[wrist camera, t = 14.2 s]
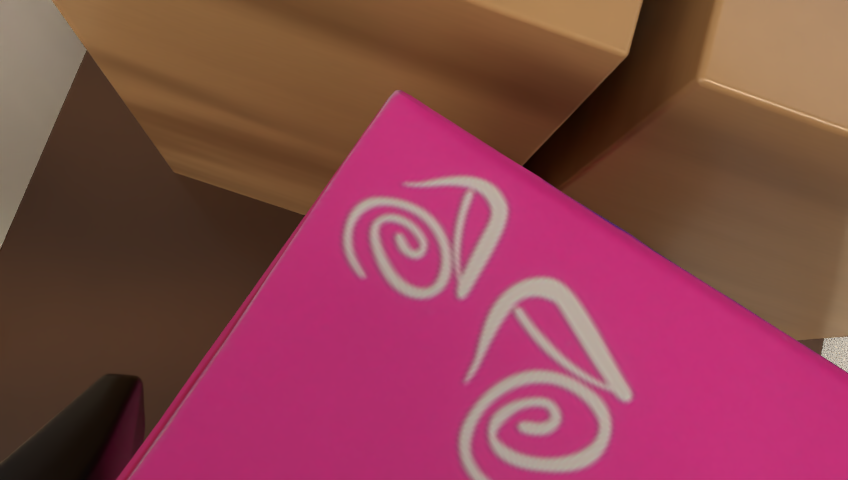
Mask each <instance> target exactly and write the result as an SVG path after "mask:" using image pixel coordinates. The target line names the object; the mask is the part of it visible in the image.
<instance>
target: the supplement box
mask: <svg viewBox="0 0 848 480" xmlns="http://www.w3.org/2000/svg"><path fill="white" fill-rule="evenodd" d="M116 480H848V373H847V372H846V371H844V370H842V369H841V368H839V367H838V366H836V365H835V364H833V363H832V362H830V361H828V360H827V359H825V358H824V357H822V356H821V355H819V354H817V353H816V352H814V351H813V350H811V349H809V348H808V347H806V346H805V345H803V344H802V343H800V342H798V341H797V340H795V339H794V338H792V337H790V336H789V335H787V334H786V333H784V332H783V331H781V330H779V329H778V328H776V327H775V326H773V325H772V324H770V323H768V322H767V321H765V320H764V319H762V318H761V317H759V316H757V315H756V314H754V313H753V312H751V311H750V310H748V309H747V308H745V307H743V306H742V305H740V304H739V303H737V302H736V301H734V300H732V299H731V298H729V297H728V296H726V295H724V294H723V293H721V292H719V291H718V290H716V289H715V288H713V287H711V286H710V285H708V284H707V283H705V282H703V281H702V280H700V279H699V278H697V277H695V276H694V275H692V274H691V273H689V272H688V271H686V270H684V269H683V268H681V267H680V266H678V265H676V264H675V263H673V262H672V261H670V260H668V259H667V258H665V257H664V256H662V255H661V254H659V253H657V252H656V251H654V250H653V249H651V248H650V247H648V246H647V245H645V244H644V243H642V242H641V241H640V240H638V239H637V238H635V237H634V236H633V235H631V234H629V233H628V232H626V231H625V230H623V229H621V228H620V227H618V226H617V225H615V224H613V223H612V222H610V221H608V220H607V219H605V218H603V217H602V216H600V215H598V214H597V213H595V212H594V211H592V210H590V209H589V208H587V207H585V206H584V205H582V204H580V203H579V202H577V201H575V200H574V199H572V198H571V197H569V196H567V195H566V194H564V193H563V192H561V191H560V190H558V189H557V188H555V187H554V186H552V185H551V184H549V183H548V182H546V181H545V180H543V179H542V178H540V177H539V176H537V175H536V174H534V173H532V172H531V171H529V170H527V169H526V168H524V167H522V166H521V165H519V164H517V163H516V162H514V161H513V160H511V159H509V158H508V157H506V156H505V155H503V154H501V153H500V152H498V151H497V150H495V149H494V148H492V147H490V146H489V145H487V144H486V143H484V142H483V141H481V140H480V139H478V138H476V137H475V136H473V135H472V134H470V133H469V132H467V131H465V130H464V129H462V128H461V127H459V126H458V125H456V124H454V123H453V122H451V121H450V120H448V119H446V118H445V117H443V116H442V115H440V114H439V113H437V112H435V111H434V110H432V109H431V108H429V107H428V106H426V105H425V104H423V103H422V102H420V101H419V100H417V99H416V98H414V97H412V96H411V95H409V94H407V93H405V92H404V91H402V90H396V91H395V92H394V93H393V94H392V95H391V96H390V97H389V98H388V99H387V100H386V102H385V103H384V105H383V106H382V107H381V109H380V110H379V112H378V113H377V114H376V116H375V117H374V119H373V120H372V121H371V123H370V124H369V126H368V127H367V129H366V130H365V131H364V133H363V134H362V136H361V137H360V139H359V140H358V141H357V143H356V144H355V146H354V147H353V149H352V150H351V151H350V153H349V154H348V156H347V157H346V158H345V160H344V161H343V163H342V164H341V166H340V167H339V168H338V170H337V171H336V173H335V174H334V175H333V177H332V178H331V180H330V181H329V183H328V184H327V185H326V187H325V188H324V190H323V191H322V192H321V194H320V195H319V197H318V198H317V199H316V201H315V202H314V204H313V205H312V207H311V208H310V209H309V211H308V212H307V214H306V215H305V216H304V218H303V219H302V221H301V222H300V223H299V225H298V226H297V228H296V229H295V231H294V232H293V233H292V235H291V236H290V238H289V239H288V240H287V242H286V243H285V245H284V246H283V247H282V249H281V250H280V252H279V253H278V254H277V256H276V257H275V259H274V260H273V262H272V263H271V264H270V266H269V267H268V269H267V270H266V271H265V273H264V274H263V276H262V277H261V278H260V280H259V281H258V283H257V284H256V285H255V287H254V288H253V290H252V291H251V292H250V294H249V295H248V297H247V298H246V299H245V301H244V302H243V304H242V305H241V307H240V308H239V309H238V311H237V312H236V313H235V315H234V316H233V318H232V319H231V320H230V322H229V323H228V325H227V326H226V327H225V329H224V330H223V331H222V333H221V334H220V336H219V337H218V338H217V340H216V341H215V343H214V344H213V345H212V347H211V348H210V349H209V351H208V352H207V354H206V355H205V356H204V358H203V359H202V361H201V362H200V363H199V365H198V366H197V368H196V369H195V370H194V372H193V373H192V375H191V376H190V378H189V379H188V380H187V382H186V383H185V385H184V386H183V388H182V389H181V390H180V392H179V393H178V395H177V396H176V398H175V399H174V400H173V402H172V403H171V405H170V406H169V408H168V409H167V410H166V412H165V413H164V415H163V416H162V418H161V419H160V421H159V422H158V423H157V425H156V426H155V427H154V429H153V430H152V431H151V433H150V434H149V436H148V437H147V438H146V440H145V441H144V442H143V444H142V445H141V446H140V448H139V449H138V450H137V452H136V453H135V455H134V456H133V457H132V459H131V460H130V461H129V463H128V464H127V465H126V467H125V468H124V470H123V471H122V472H121V474H120V475H119V476H118V478H117V479H116Z"/></svg>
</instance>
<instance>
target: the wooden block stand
mask: <svg viewBox="0 0 848 480" xmlns="http://www.w3.org/2000/svg"><path fill="white" fill-rule="evenodd" d="M52 1H53V3H54V4H55V6H56V7H57V8H58V10H59V11H60V13H61V14H62V16H63V17H64V18H65V20H66V21H67V23H68V24H69V25H70V27H71V28H72V30H73V31H74V32H75V34H76V35H77V37H78V38H79V39H80V41H81V42H82V44H83V45H84V47H85V48H86V49H87V51H86V53H85V55H84V58H83V60H82V62H81V64H80V67H79V69H78V71H77V74H76V76H75V78H74V81H73V83H72V85H71V88H70V90H69V92H68V94H67V97H66V99H65V101H64V104H63V106H62V108H61V111H60V113H59V115H58V117H57V120H56V122H55V124H54V127H53V129H52V131H51V134H50V136H49V138H48V141H47V143H46V145H45V147H44V150H43V152H42V154H41V157H40V159H39V161H38V164H37V166H36V168H35V170H34V173H33V175H32V177H31V180H30V182H29V184H28V187H27V189H26V191H25V194H24V196H23V198H22V200H21V203H20V205H19V207H18V210H17V212H16V214H15V217H14V219H13V221H12V224H11V226H10V228H9V230H8V233H7V235H6V237H5V240H4V242H3V244H2V247H1V249H0V463H1V462H2V461H3V460H4V459H5V458H7V457H8V456H9V455H10V454H11V453H12V452H14V451H15V450H16V449H17V448H18V447H19V446H21V445H22V444H23V443H24V442H25V441H26V440H28V439H29V438H30V437H31V436H32V435H33V434H35V433H36V432H37V431H38V430H39V429H40V428H42V427H43V426H44V425H45V424H46V423H48V422H49V421H50V420H51V419H52V418H53V417H55V416H56V415H57V414H58V413H59V412H60V411H62V410H63V409H64V408H65V407H66V406H67V405H69V404H70V403H71V402H72V401H73V400H74V399H76V398H77V397H78V396H79V395H80V394H81V393H83V392H84V391H85V390H86V389H87V388H88V387H90V386H91V385H92V384H93V383H94V382H95V381H97V380H98V379H99V378H100V377H102V376H103V375H105V374H108V373H114V374H125V375H136V376H138V377H140V378H141V380H142V382H143V391H144V408H145V434H144V440H143V442H144V441H145V440H146V438H147V437H148V436H149V434H150V433H151V431H152V430H153V429H154V427H155V426H156V425H157V423H158V422H159V421H160V419H161V418H162V416H163V415H164V413H165V412H166V410H167V409H168V408H169V406H170V405H171V403H172V402H173V400H174V399H175V398H176V396H177V395H178V393H179V392H180V390H181V389H182V388H183V386H184V385H185V383H186V382H187V380H188V379H189V378H190V376H191V375H192V373H193V372H194V370H195V369H196V368H197V366H198V365H199V363H200V362H201V361H202V359H203V358H204V356H205V355H206V354H207V352H208V351H209V349H210V348H211V347H212V345H213V344H214V343H215V341H216V340H217V338H218V337H219V336H220V334H221V333H222V331H223V330H224V329H225V327H226V326H227V325H228V323H229V322H230V320H231V319H232V318H233V316H234V315H235V313H236V312H237V311H238V309H239V308H240V307H241V305H242V304H243V302H244V301H245V299H246V298H247V297H248V295H249V294H250V292H251V291H252V290H253V288H254V287H255V285H256V284H257V283H258V281H259V280H260V278H261V277H262V276H263V274H264V273H265V271H266V270H267V269H268V267H269V266H270V264H271V263H272V262H273V260H274V259H275V257H276V256H277V254H278V253H279V252H280V250H281V249H282V247H283V246H284V245H285V243H286V242H287V240H288V239H289V238H290V236H291V235H292V233H293V232H294V231H295V229H296V228H297V226H298V225H299V223H300V222H301V221H302V219H303V218H304V216H305V215H306V214H307V212H308V211H309V209H310V208H311V207H312V205H313V204H314V202H315V201H316V199H317V198H318V197H319V195H320V194H321V192H322V191H323V190H324V188H325V187H326V185H327V184H328V183H329V181H330V180H331V178H332V177H333V175H334V174H335V173H336V171H337V170H338V168H339V167H340V166H341V164H342V163H343V161H344V160H345V158H346V157H347V156H348V154H349V153H350V151H351V150H352V149H353V147H354V146H355V144H356V143H357V141H358V140H359V139H360V137H361V136H362V134H363V133H364V131H365V130H366V129H367V127H368V126H369V124H370V123H371V121H372V120H373V119H374V117H375V116H376V114H377V113H378V112H379V110H380V109H381V107H382V106H383V105H384V103H385V102H386V100H387V99H388V98H389V97H390V96H391V95H392V94H393V93H394V92H395V91H396V90H402V91H404V92H405V93H407V94H409V95H411V96H412V97H414V98H416V99H417V100H419V101H420V102H422V103H423V104H425V105H426V106H428V107H429V108H431V109H432V110H434V111H435V112H437V113H439V114H440V115H442V116H443V117H445V118H446V119H448V120H450V121H451V122H453V123H454V124H456V125H458V126H459V127H461V128H462V129H464V130H465V131H467V132H469V133H470V134H472V135H473V136H475V137H476V138H478V139H480V140H481V141H483V142H484V143H486V144H487V145H489V146H490V147H492V148H494V149H495V150H497V151H498V152H500V153H501V154H503V155H505V156H506V157H508V158H509V159H511V160H513V161H514V162H516V163H517V164H519V165H521V166H522V167H524V168H526V169H527V170H529V171H531V172H532V173H534V174H536V175H537V176H539V177H540V178H542V179H543V180H545V181H546V182H548V183H549V184H551V185H552V186H554V187H555V188H557V189H558V190H560V191H561V192H563V193H564V194H566V195H567V196H569V197H571V198H572V199H574V200H575V201H577V202H579V203H580V204H582V205H584V206H585V207H587V208H589V209H590V210H592V211H594V212H595V213H597V214H598V215H600V216H602V217H603V218H605V219H607V220H608V221H610V222H612V223H613V224H615V225H617V226H618V227H620V228H621V229H623V230H625V231H626V232H628V233H629V234H631V235H633V236H634V237H635V238H637V239H638V240H640V241H641V242H642V243H644V244H645V245H647V246H648V247H650V248H651V249H653V250H654V251H656V252H657V253H659V254H661V255H662V256H664V257H665V258H667V259H668V260H670V261H672V262H673V263H675V264H676V265H678V266H680V267H681V268H683V269H684V270H686V271H688V272H689V273H691V274H692V275H694V276H695V277H697V278H699V279H700V280H702V281H703V282H705V283H707V284H708V285H710V286H711V287H713V288H715V289H716V290H718V291H719V292H721V293H723V294H724V295H726V296H728V297H729V298H731V299H732V300H734V301H736V302H737V303H739V304H740V305H742V306H743V307H745V308H747V309H748V310H750V311H751V312H753V313H754V314H756V315H757V316H759V317H761V318H762V319H764V320H765V321H767V322H768V323H770V324H772V325H773V326H775V327H776V328H778V329H779V330H781V331H783V332H784V333H786V334H787V335H789V336H790V337H792V338H794V339H795V340H797V341H798V342H800V343H802V344H803V345H805V346H806V347H808V348H809V349H811V350H813V351H814V352H816V353H817V354H819V355H821V351H822V346H823V341H824V338H833V337H846V336H848V0H52Z"/></svg>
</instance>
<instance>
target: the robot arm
mask: <svg viewBox="0 0 848 480" xmlns="http://www.w3.org/2000/svg"><path fill="white" fill-rule="evenodd" d="M144 434H145V408H144V391H143V382H142V380H141V378H140V377H138V376H136V375H125V374H114V373H108V374H105V375H103V376H102V377H100V378H99V379H98V380H97V381H95V382H94V383H93V384H92V385H91V386H90V387H88V388H87V389H86V390H85V391H84V392H83V393H81V394H80V395H79V396H78V397H77V398H76V399H74V400H73V401H72V402H71V403H70V404H69V405H67V406H66V407H65V408H64V409H63V410H62V411H60V412H59V413H58V414H57V415H56V416H55V417H53V418H52V419H51V420H50V421H49V422H48V423H46V424H45V425H44V426H43V427H42V428H40V429H39V430H38V431H37V432H36V433H35V434H33V435H32V436H31V437H30V438H29V439H28V440H26V441H25V442H24V443H23V444H22V445H21V446H19V447H18V448H17V449H16V450H15V451H14V452H12V453H11V454H10V455H9V456H8V457H7V458H5V459H4V460H3V461H2V462H1V463H0V480H116V479H117V478H118V476H119V475H120V474H121V472H122V471H123V470H124V468H125V467H126V465H127V464H128V463H129V461H130V460H131V459H132V457H133V456H134V455H135V453H136V452H137V450H138V449H139V448H140V446H141V445H142V444H143V440H144Z"/></svg>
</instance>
